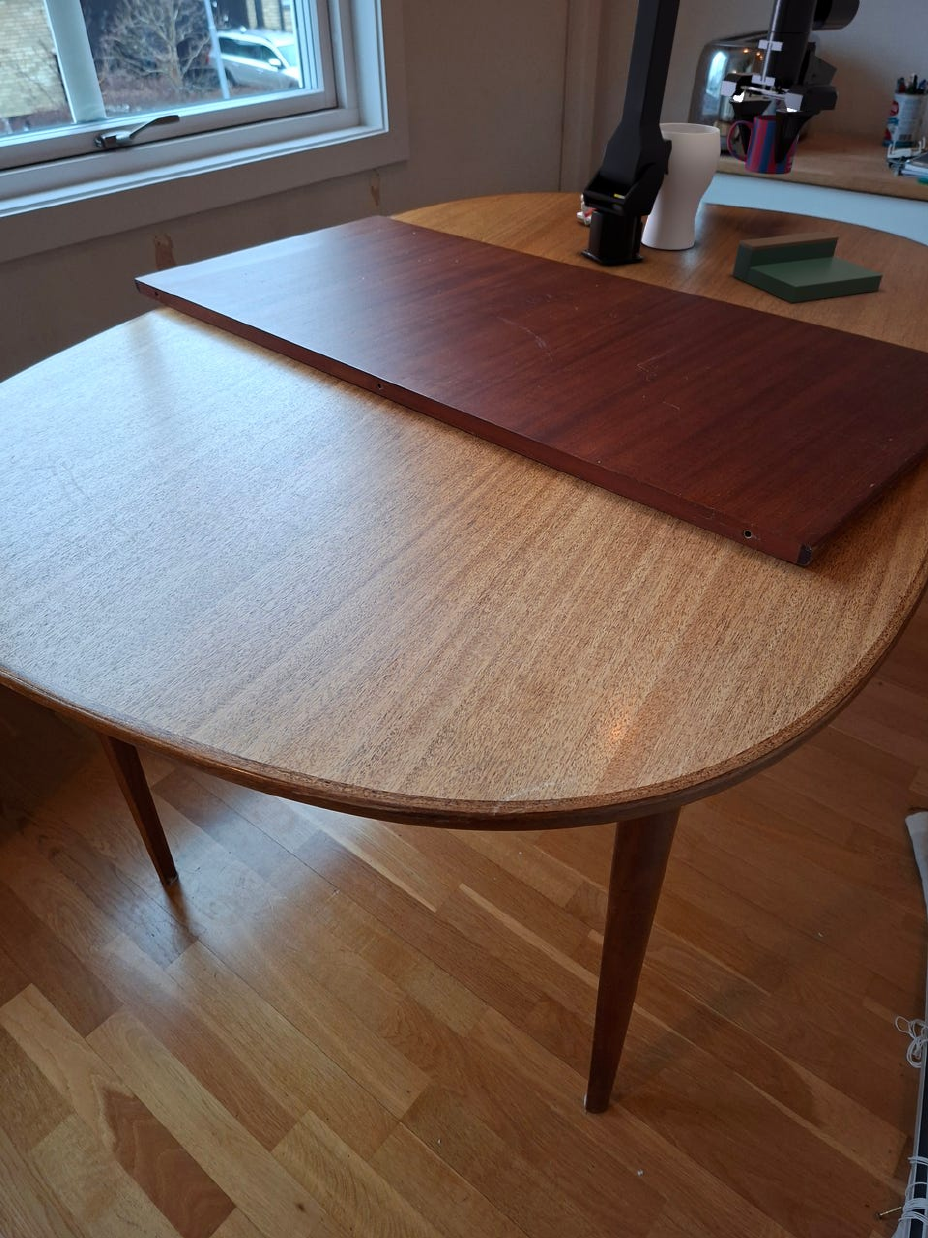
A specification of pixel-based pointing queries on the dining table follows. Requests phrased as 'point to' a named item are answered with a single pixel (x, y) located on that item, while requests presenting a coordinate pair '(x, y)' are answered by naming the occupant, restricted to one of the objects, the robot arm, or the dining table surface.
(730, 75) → the robot arm
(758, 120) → the cup
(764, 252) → the green l-shaped stand
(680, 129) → the cup
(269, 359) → the dining table surface
